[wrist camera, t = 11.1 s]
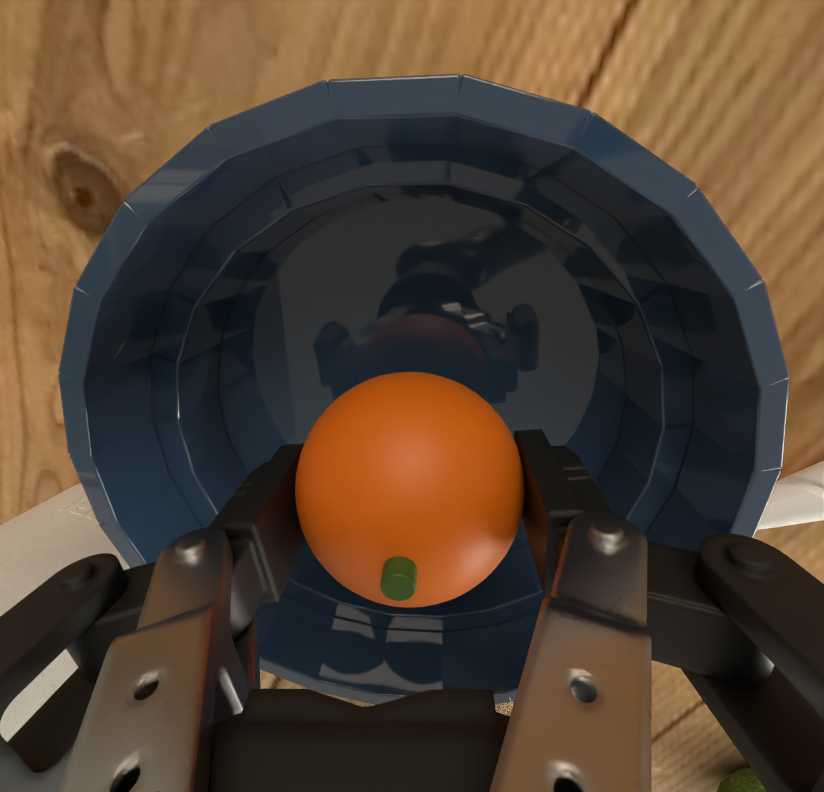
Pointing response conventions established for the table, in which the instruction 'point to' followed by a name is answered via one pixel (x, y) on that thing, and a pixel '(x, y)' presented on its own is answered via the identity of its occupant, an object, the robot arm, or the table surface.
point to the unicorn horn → (796, 499)
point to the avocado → (742, 782)
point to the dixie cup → (45, 578)
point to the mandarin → (410, 489)
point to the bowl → (419, 341)
